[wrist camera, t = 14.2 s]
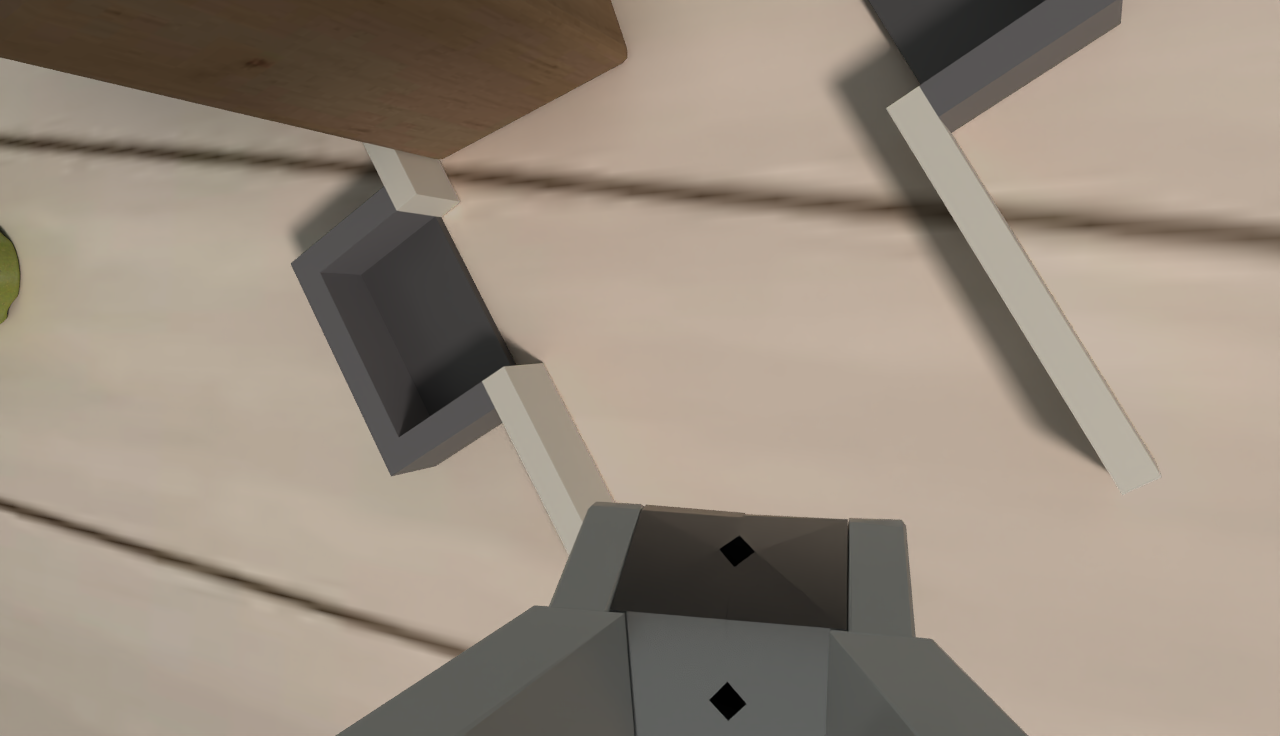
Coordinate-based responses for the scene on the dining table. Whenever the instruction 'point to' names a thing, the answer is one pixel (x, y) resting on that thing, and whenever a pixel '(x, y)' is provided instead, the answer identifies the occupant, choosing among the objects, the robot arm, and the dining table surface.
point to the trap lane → (554, 437)
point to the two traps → (453, 308)
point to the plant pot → (8, 276)
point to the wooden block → (332, 58)
